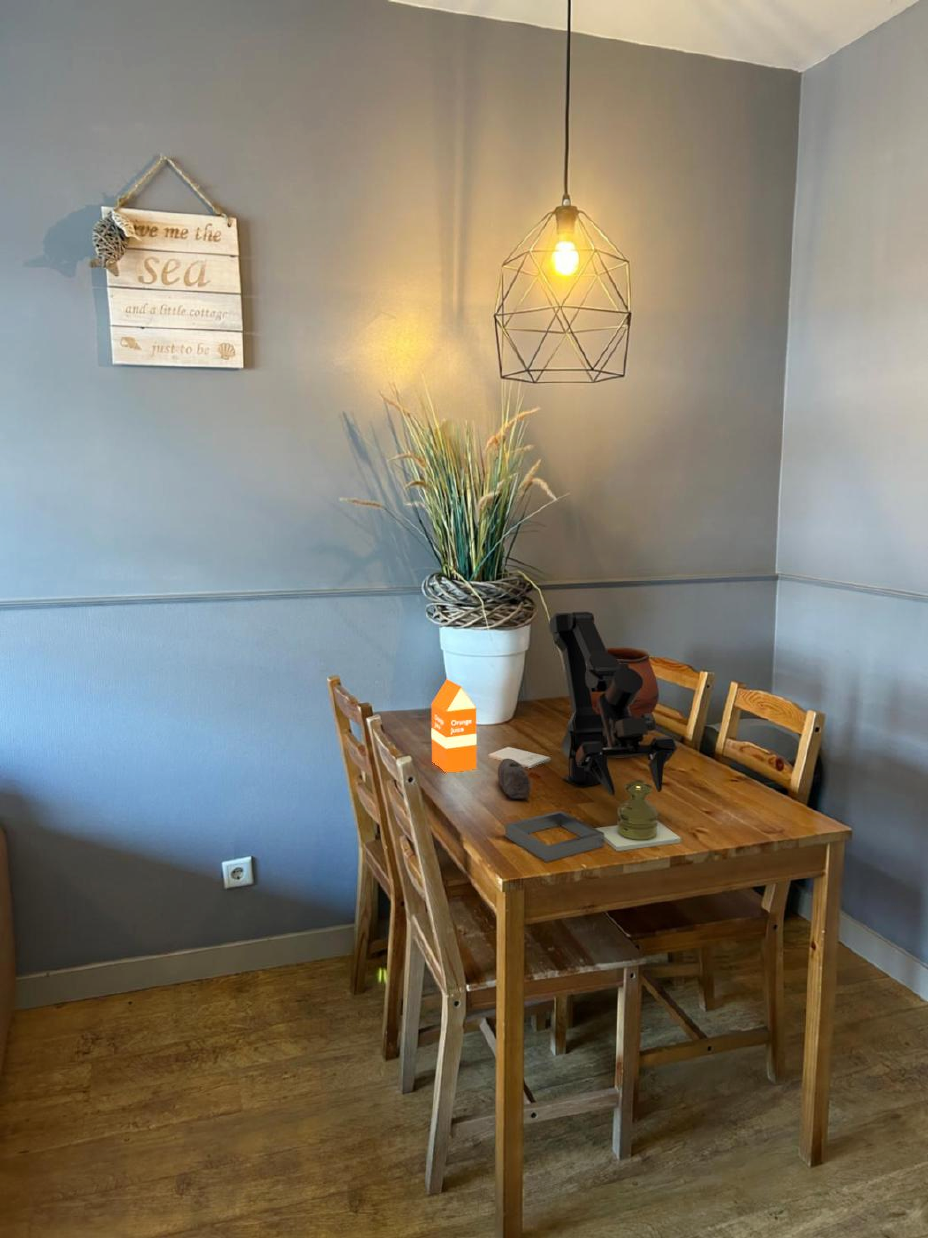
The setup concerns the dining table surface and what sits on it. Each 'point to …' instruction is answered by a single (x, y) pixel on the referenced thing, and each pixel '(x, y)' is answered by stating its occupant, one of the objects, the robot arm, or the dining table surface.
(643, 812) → the brass rounded piece
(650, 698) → the goblet
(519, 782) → the perforated stone tool
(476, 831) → the dining table surface
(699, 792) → the dining table surface
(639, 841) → the tile
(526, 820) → the grey square frame
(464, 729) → the orange juice
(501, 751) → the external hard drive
